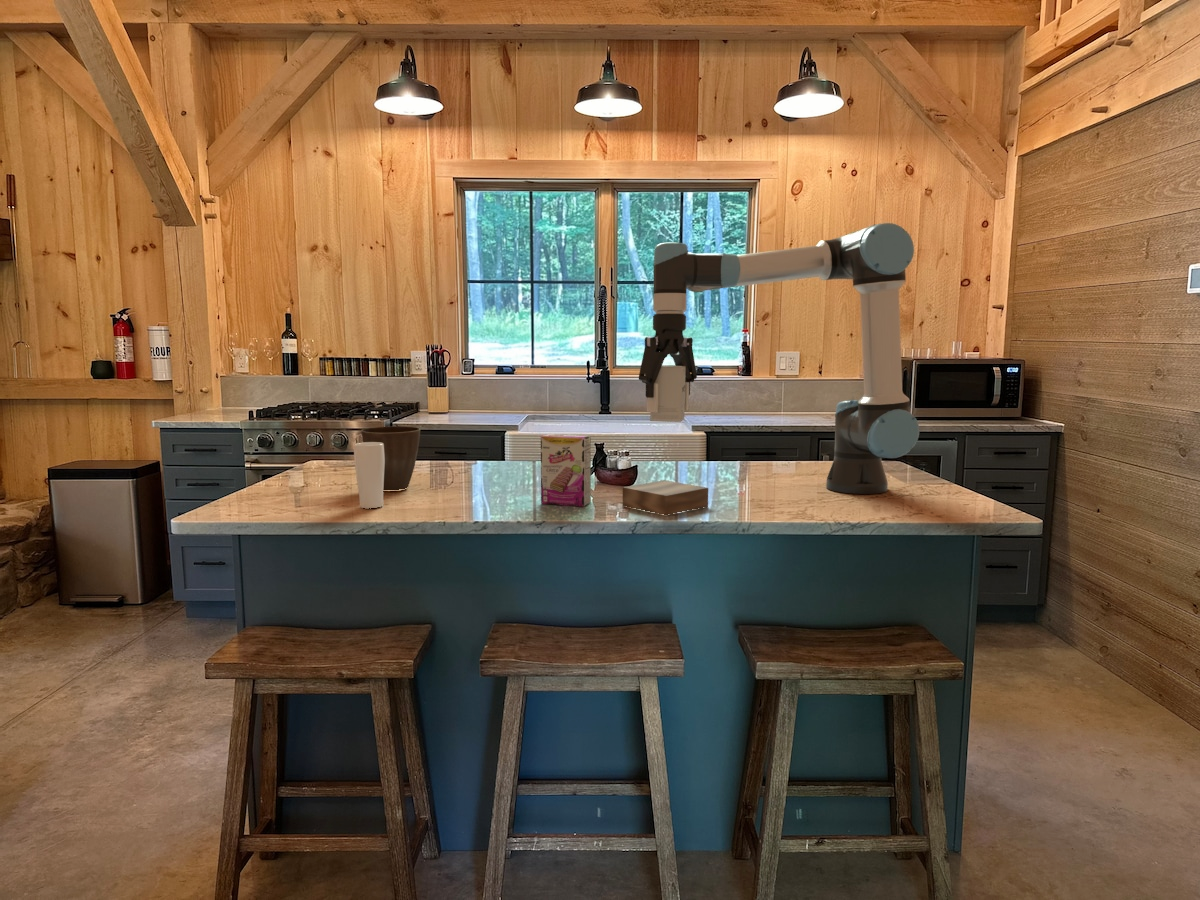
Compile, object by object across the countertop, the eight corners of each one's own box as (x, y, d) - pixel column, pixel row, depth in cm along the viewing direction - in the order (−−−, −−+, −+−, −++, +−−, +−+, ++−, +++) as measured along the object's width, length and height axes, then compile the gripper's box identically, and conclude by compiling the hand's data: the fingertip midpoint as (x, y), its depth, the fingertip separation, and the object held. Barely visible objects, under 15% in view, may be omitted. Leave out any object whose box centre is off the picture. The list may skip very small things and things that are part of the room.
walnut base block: (707, 509, 181) (708, 487, 181) (666, 518, 172) (666, 495, 172) (664, 500, 192) (664, 480, 191) (622, 508, 183) (622, 487, 182)
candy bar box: (540, 504, 186) (539, 435, 183) (548, 500, 190) (547, 433, 188) (584, 507, 182) (583, 437, 180) (591, 503, 187) (591, 435, 184)
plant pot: (434, 488, 208) (432, 428, 206) (391, 497, 195) (389, 433, 193) (394, 482, 216) (392, 425, 214) (351, 491, 203) (348, 430, 201)
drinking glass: (359, 511, 179) (356, 446, 177) (354, 506, 184) (351, 443, 183) (389, 508, 182) (386, 444, 180) (383, 503, 188) (380, 441, 186)
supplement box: (681, 422, 177) (682, 366, 175) (649, 421, 178) (650, 365, 177) (685, 419, 184) (686, 365, 182) (654, 418, 186) (654, 365, 184)
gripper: (689, 315, 188) (687, 407, 191) (622, 312, 173) (621, 412, 176) (713, 314, 183) (711, 409, 186) (647, 311, 168) (645, 414, 171)
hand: (668, 411), depth 181 cm, fingers closed on supplement box, 10 cm apart
